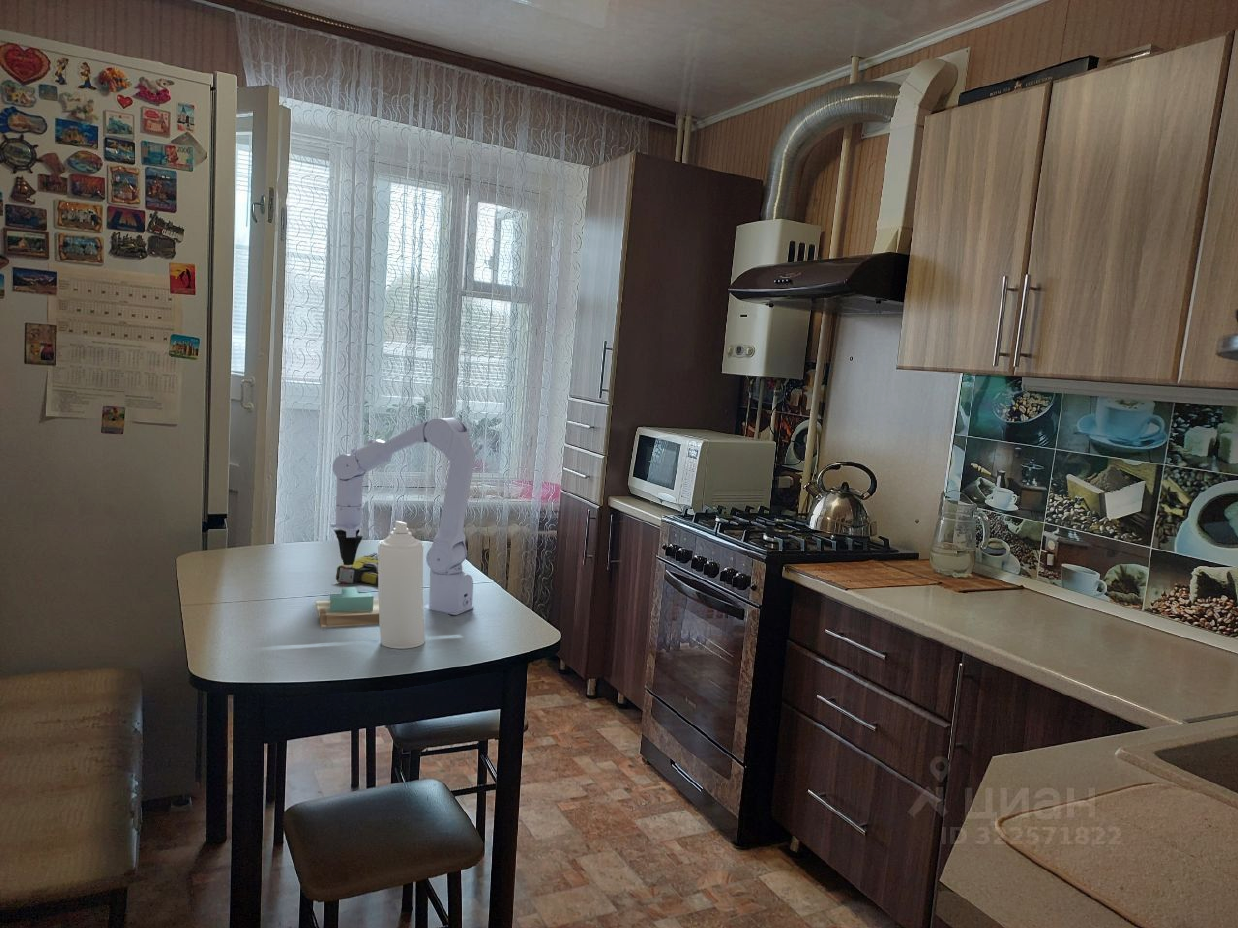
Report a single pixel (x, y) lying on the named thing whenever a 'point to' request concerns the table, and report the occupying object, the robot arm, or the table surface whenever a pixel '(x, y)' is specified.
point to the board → (347, 615)
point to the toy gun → (359, 571)
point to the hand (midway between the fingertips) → (347, 561)
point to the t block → (351, 600)
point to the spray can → (401, 589)
